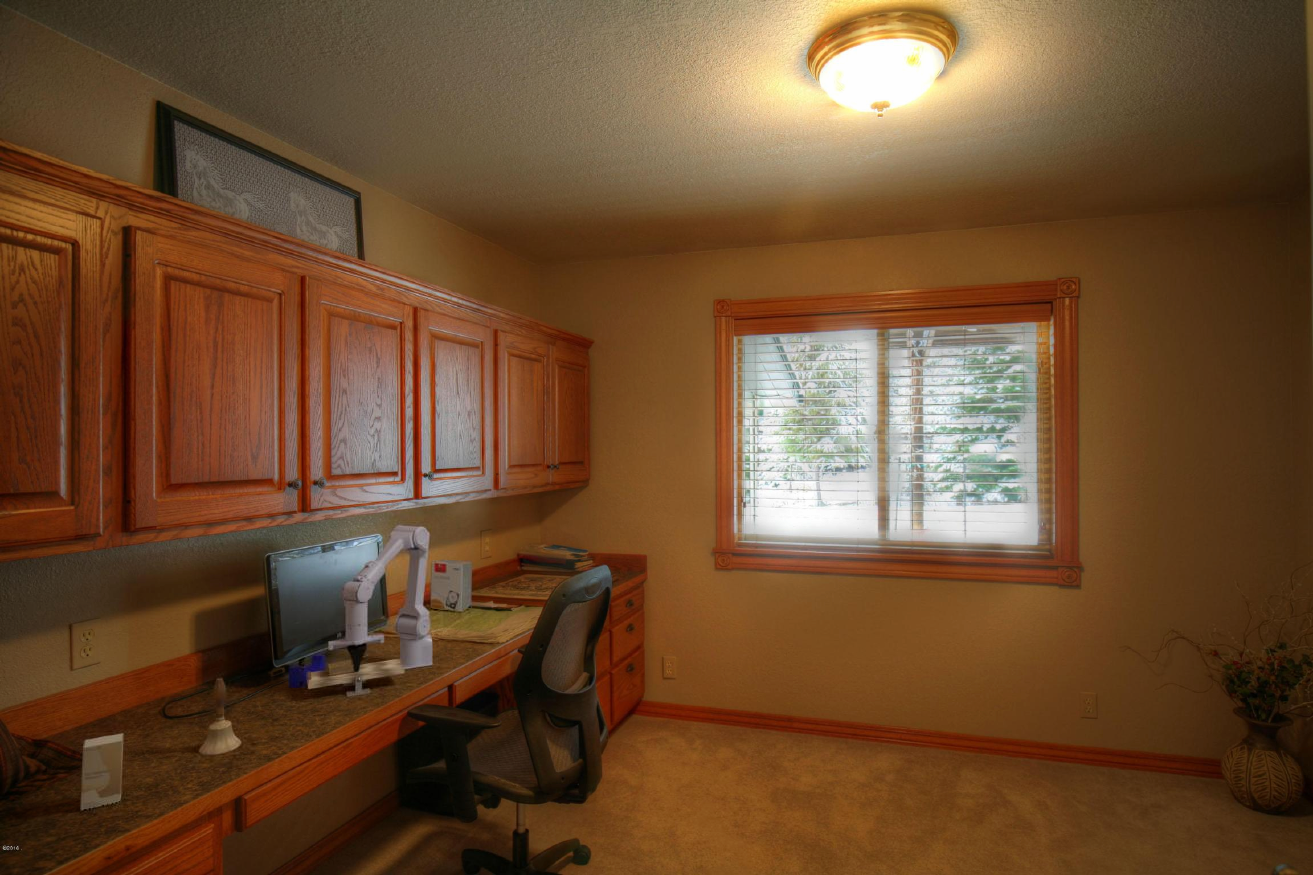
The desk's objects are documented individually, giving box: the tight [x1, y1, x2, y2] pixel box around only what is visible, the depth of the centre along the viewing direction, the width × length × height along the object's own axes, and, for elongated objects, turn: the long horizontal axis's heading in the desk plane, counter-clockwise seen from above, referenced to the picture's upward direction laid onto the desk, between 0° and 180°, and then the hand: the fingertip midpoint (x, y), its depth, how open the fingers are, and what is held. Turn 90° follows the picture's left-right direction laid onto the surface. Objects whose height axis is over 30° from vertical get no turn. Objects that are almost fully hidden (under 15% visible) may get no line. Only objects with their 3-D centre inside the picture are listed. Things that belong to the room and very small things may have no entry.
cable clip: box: [288, 653, 326, 689], centre depth 205 cm, size 12×4×6 cm, turn 171°
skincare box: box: [79, 732, 125, 811], centre depth 136 cm, size 6×4×12 cm
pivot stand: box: [342, 675, 371, 698], centre depth 198 cm, size 6×11×5 cm, turn 30°
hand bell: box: [198, 677, 242, 756], centre depth 160 cm, size 8×8×16 cm
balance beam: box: [306, 658, 406, 690], centre depth 198 cm, size 25×7×3 cm, turn 120°
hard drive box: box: [430, 559, 473, 611], centre depth 290 cm, size 16×8×20 cm, turn 72°
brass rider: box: [327, 659, 353, 677], centre depth 196 cm, size 6×4×3 cm
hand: (356, 670), depth 198 cm, fingers closed
